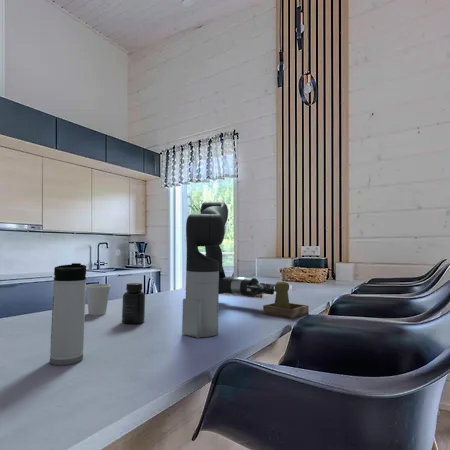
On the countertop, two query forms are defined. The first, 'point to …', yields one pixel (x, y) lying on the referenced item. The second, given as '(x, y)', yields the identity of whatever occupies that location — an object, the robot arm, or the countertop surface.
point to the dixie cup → (97, 298)
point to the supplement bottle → (133, 304)
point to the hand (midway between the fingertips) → (279, 290)
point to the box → (286, 310)
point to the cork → (282, 295)
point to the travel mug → (68, 314)
